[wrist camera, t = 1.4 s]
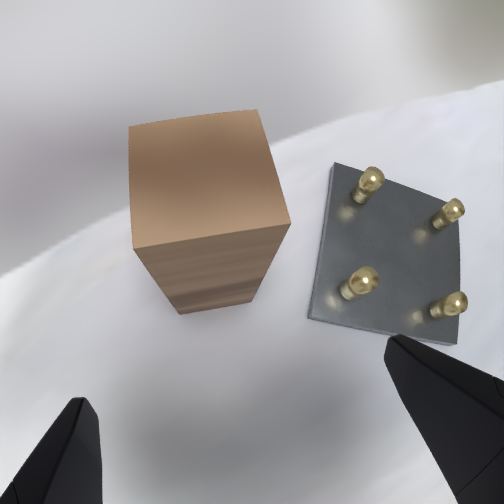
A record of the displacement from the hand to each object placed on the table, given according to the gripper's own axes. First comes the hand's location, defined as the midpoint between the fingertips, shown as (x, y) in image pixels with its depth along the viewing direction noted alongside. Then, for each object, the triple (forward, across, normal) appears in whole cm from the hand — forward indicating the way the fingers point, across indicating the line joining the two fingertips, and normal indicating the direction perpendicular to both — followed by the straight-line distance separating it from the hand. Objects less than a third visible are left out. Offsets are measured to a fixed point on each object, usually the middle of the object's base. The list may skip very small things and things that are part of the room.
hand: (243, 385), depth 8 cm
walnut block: (+14, 0, +4) cm, 15 cm away
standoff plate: (+13, -15, +5) cm, 21 cm away
